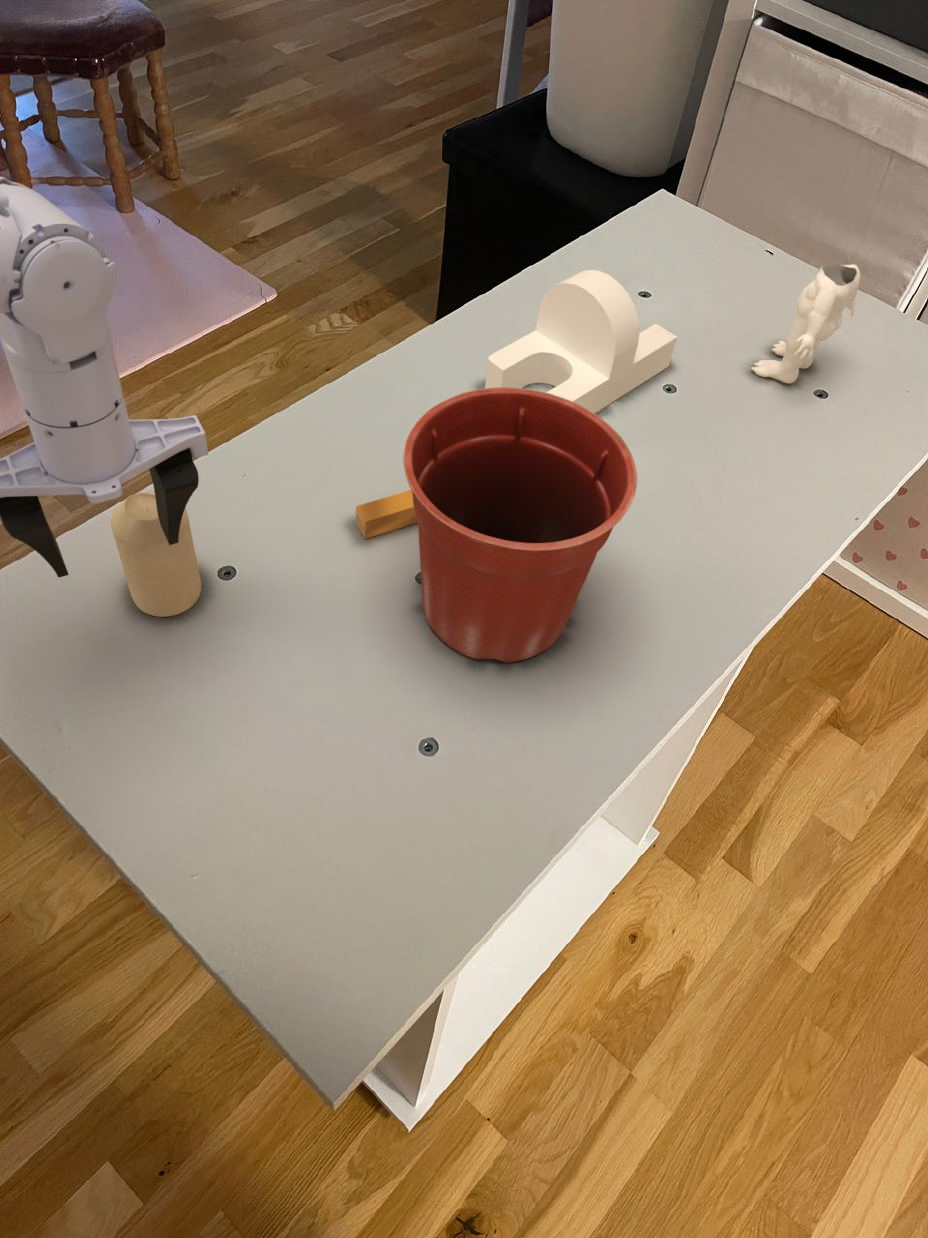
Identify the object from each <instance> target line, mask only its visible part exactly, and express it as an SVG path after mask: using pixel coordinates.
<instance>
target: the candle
mask: <svg viewBox="0 0 928 1238" xmlns="http://www.w3.org/2000/svg"><path fill="white" fill-rule="evenodd" d="M186 507H187V506H186ZM186 507H185V510H184V513H183V516H182V520H181V524H180V530H179V542H178V543H176V544H172V545H169V543H168V541H167V539H166V536H165V534H164V532H163V530H162V528H161V525H160V521H159V517H158V513H157V506H156V498H155V491H153V490H152V491H151V490H150V491H148V490H147V491H141V492H138V493H135V494H130V495H128V496H127V497H126V498H125V499H123V500H122V501H121V502H120V503H119V504H118V505H117V506H116V507H115V508H114V510H113V512H112V514H111V516H110V527H111V531H112V535H113V537H114V538H113V539H114V541H115V544H116V548H117V551H118V556H119V558H120V562H121V566H122V568H123V573H124V575H125V580H126V582H127V587H128V590H129V593H130V596H131V599H132V601H133V603H134V604H135V605H136V607H137V609H139V610H141V611H142V612H143V613H145V614H147V615H149V616H154V617H159V618H164V617H174V616H177V615H179V614H183V613H184V612H186V611H188V610H189V609H191V608H192V607H193V606H194V605H195V604H196V603H197V601H198V600H199V599H200V596H201V593H202V581H201V574H200V570H199V564H198V560H197V555H196V550H195V544H194V539H193V534H192V529H191V524H190V519H189V514H188V510H187V508H186Z"/></svg>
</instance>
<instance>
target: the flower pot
mask: <svg viewBox="0 0 928 1238" xmlns="http://www.w3.org/2000/svg"><path fill="white" fill-rule="evenodd" d="M402 457H403V469H404V474H405V478H406V481H407V484H408V486H409V489H410V490H412V494H413V505H414V509H415V513H416V516H417V518H418V523H417V527H418V546H419V548H418V549H419V562H420V581H421V582H420V584H421V585H420V587H421V607H422V611H423V615H424V617H425V619H426V622H427V623H428V625H429V627H430V628H431V629H432V631H433V632H434V633H435V634H436V636H437V637H438V638H439V639H440V640H441V641H442V642H443V643H444V644H446V645H448V646H449V647H450V648H451V649H453V650H455V651H456V652H458V653H460V654H462V655H464V656H466V657H469V658H471V659H472V658H473V659H475V660H481V659H490V660H491V659H492V660H497V661H501V662H503V663H513V662H520V661H523V660H527V659H530V658H532V657H534V656H536V655H539V654H541V653H542V652H544V651H546V650H547V649H548V648H550V647H551V646H552V645H553V644H554V643H556V641H557V640H558V639H559V638H560V636H561V635H562V634H563V632H564V629H565V628H566V626H567V623H568V621H569V619H570V617H571V614H572V612H573V610H574V607H575V605H576V602H577V601H578V598H579V595H580V593H581V592H582V589H583V587H584V584H585V583H586V580H587V578H588V575H589V573H590V570H591V569H592V567H593V563H594V562H595V559H596V557H597V555H598V553H599V552H600V550H601V549H602V548H603V547H604V545H606V543H607V541H608V540H609V538H610V535H611V534H612V531H613V529H614V527H615V526H616V525H617V524H618V523H619V522H621V520H622V519H623V517H624V516H625V515H626V513H627V512H628V511H629V509H630V507H631V506H632V504H633V502H634V498H635V496H636V492H637V486H638V473H637V467H636V463H635V460H634V457H633V454H632V452H631V450H630V449H629V447H628V445H627V443H626V442H625V440H624V439H623V438H622V436H621V435H620V434H619V433H618V432H617V430H615V428H614V427H612V426H611V425H610V424H609V423H608V422H607V421H605V419H603V418H602V417H600V416H599V415H598V414H597V413H595V414H594V413H593V412H591V411H590V410H588V409H586V408H584V407H583V406H581V405H579V404H576V403H574V402H572V401H570V400H567V399H564V398H562V397H559V396H556V395H553V394H549V393H546V392H545V391H541V390H536V389H530V388H523V387H522V388H509V387H497V388H485V387H484V388H480V389H474V390H473V389H472V390H469V391H464V392H462V393H460V394H456V395H455V396H452V397H450V398H447V399H445V400H444V401H441V402H439V403H437V404H436V405H434V406H433V407H431V408H430V409H428V410H427V411H426V412H425V413H424V414H423V415H421V417H420V418H419V419H418V420H417V421H415V423H414V424H413V427H412V428H411V429H410V432H409V433H408V436H407V437H406V440H405V443H404V448H403V456H402Z"/></svg>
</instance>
